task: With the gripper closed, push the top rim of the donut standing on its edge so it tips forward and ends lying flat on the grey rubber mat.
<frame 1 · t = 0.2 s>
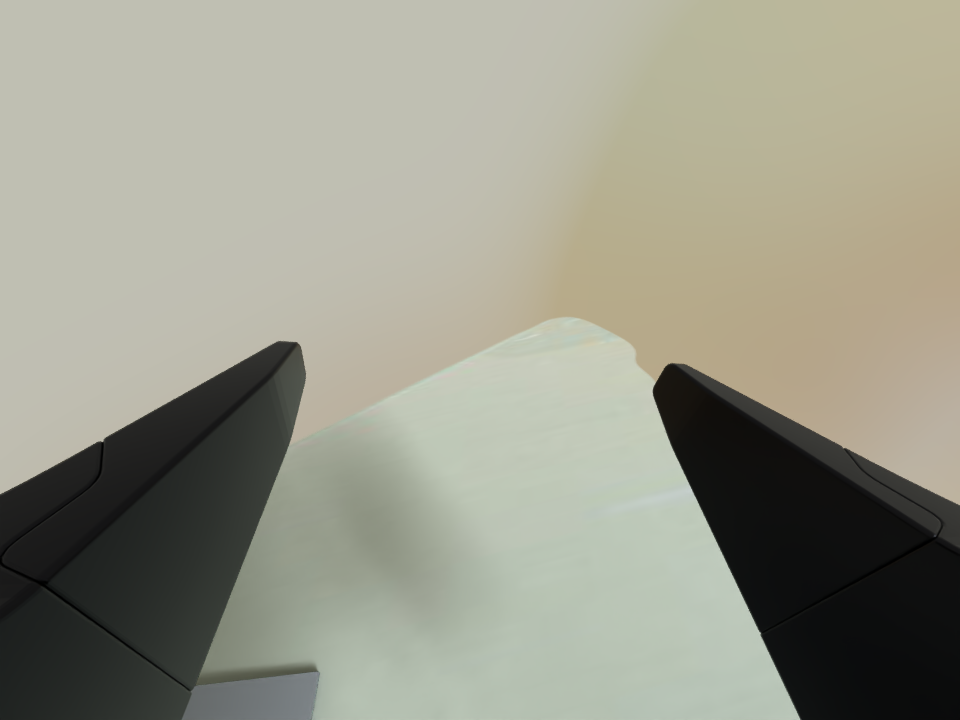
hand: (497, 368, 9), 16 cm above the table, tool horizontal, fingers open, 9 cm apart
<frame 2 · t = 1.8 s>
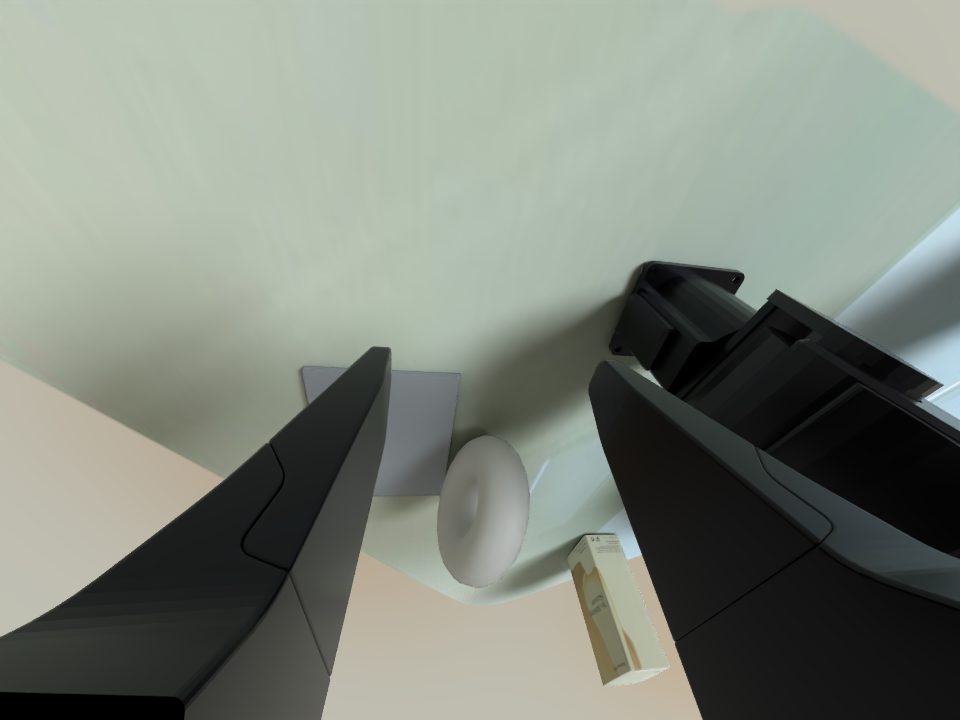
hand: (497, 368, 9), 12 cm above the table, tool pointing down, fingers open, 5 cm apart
mat: (385, 440, 27), on the table
donut: (472, 447, 29), on the table
skincare box: (589, 544, 43), on the table
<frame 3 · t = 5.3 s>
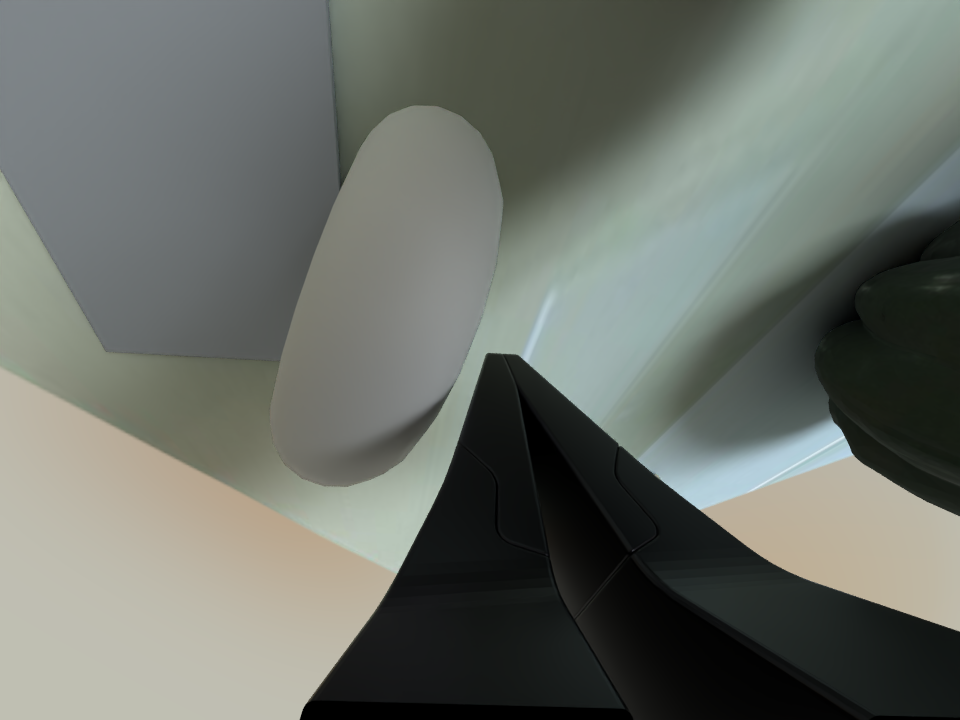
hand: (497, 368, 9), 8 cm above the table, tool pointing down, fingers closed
mat: (190, 190, 12), on the table
squash: (907, 301, 19), on the table
donut: (398, 241, 14), on the table, touching gripper
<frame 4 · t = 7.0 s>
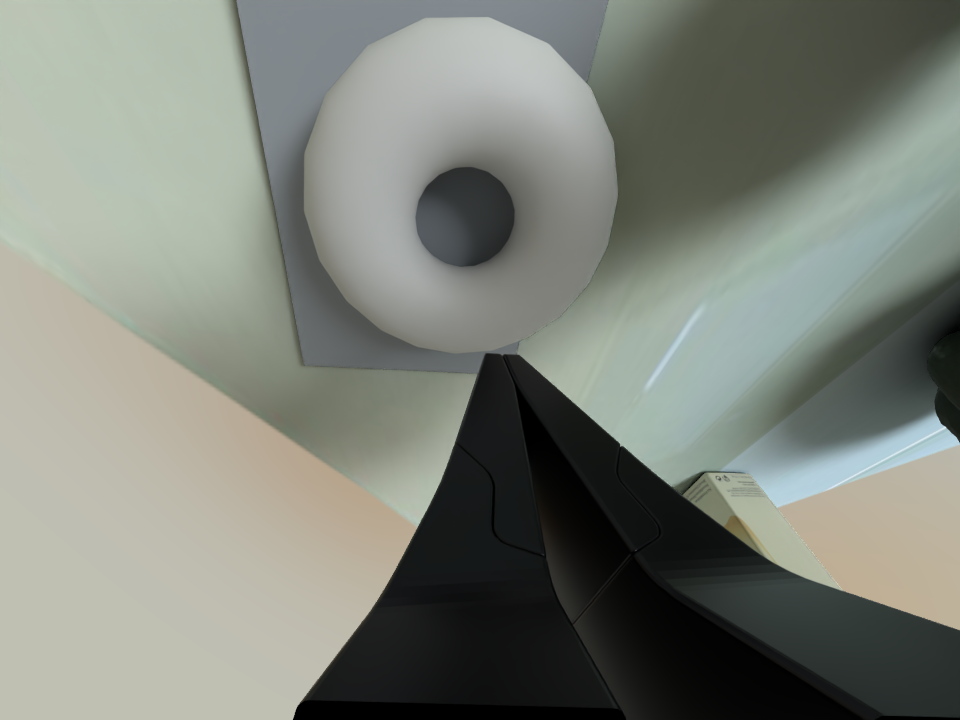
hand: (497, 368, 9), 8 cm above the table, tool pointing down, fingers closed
mat: (419, 222, 14), on the table
donut: (561, 312, 14), point 2 cm above the table, touching mat
skincare box: (702, 491, 29), on the table
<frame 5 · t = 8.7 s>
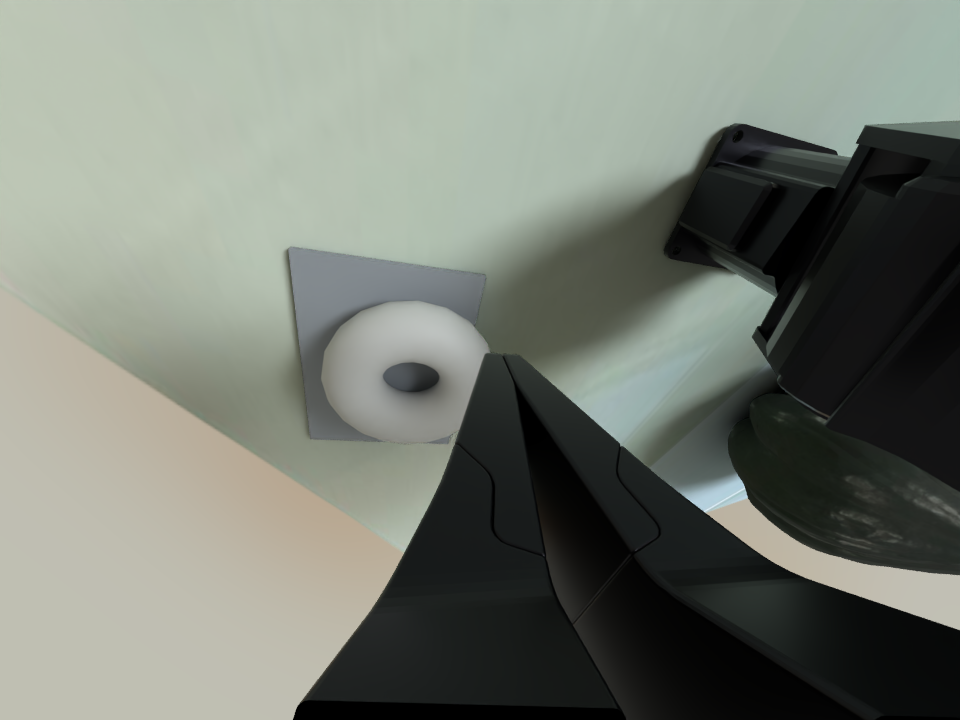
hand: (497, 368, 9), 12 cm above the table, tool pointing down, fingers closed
mat: (387, 365, 23), on the table
squash: (785, 404, 31), on the table
donut: (472, 418, 24), point 2 cm above the table, touching mat
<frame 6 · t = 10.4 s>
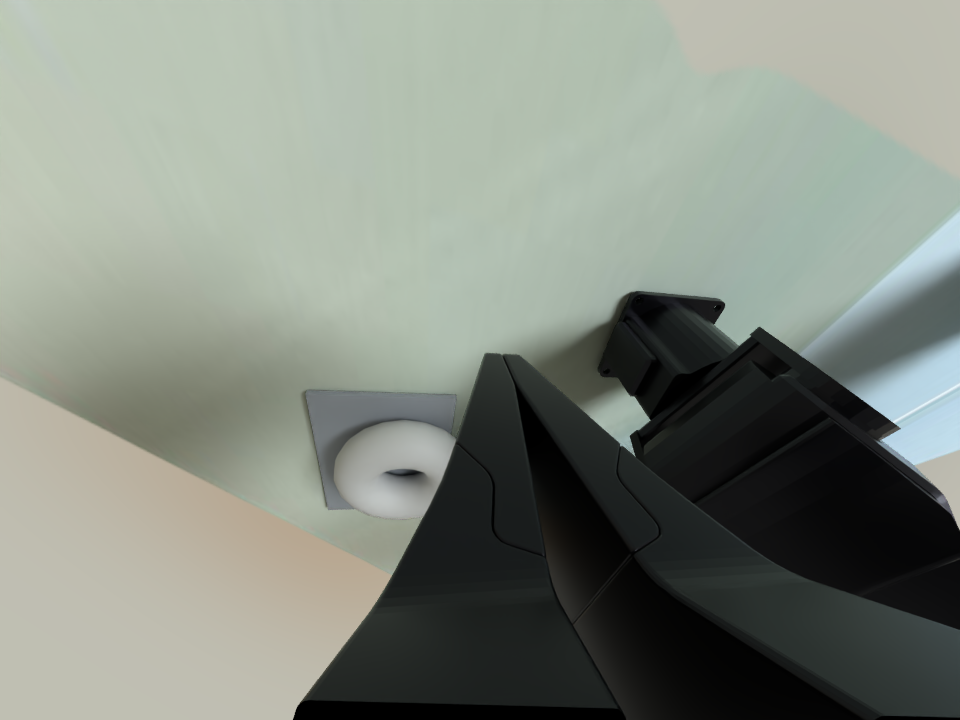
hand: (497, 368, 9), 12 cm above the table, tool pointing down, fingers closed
mat: (385, 456, 29), on the table
donut: (455, 495, 29), point 2 cm above the table, touching mat
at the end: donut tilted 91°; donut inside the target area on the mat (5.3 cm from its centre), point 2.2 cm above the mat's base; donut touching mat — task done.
